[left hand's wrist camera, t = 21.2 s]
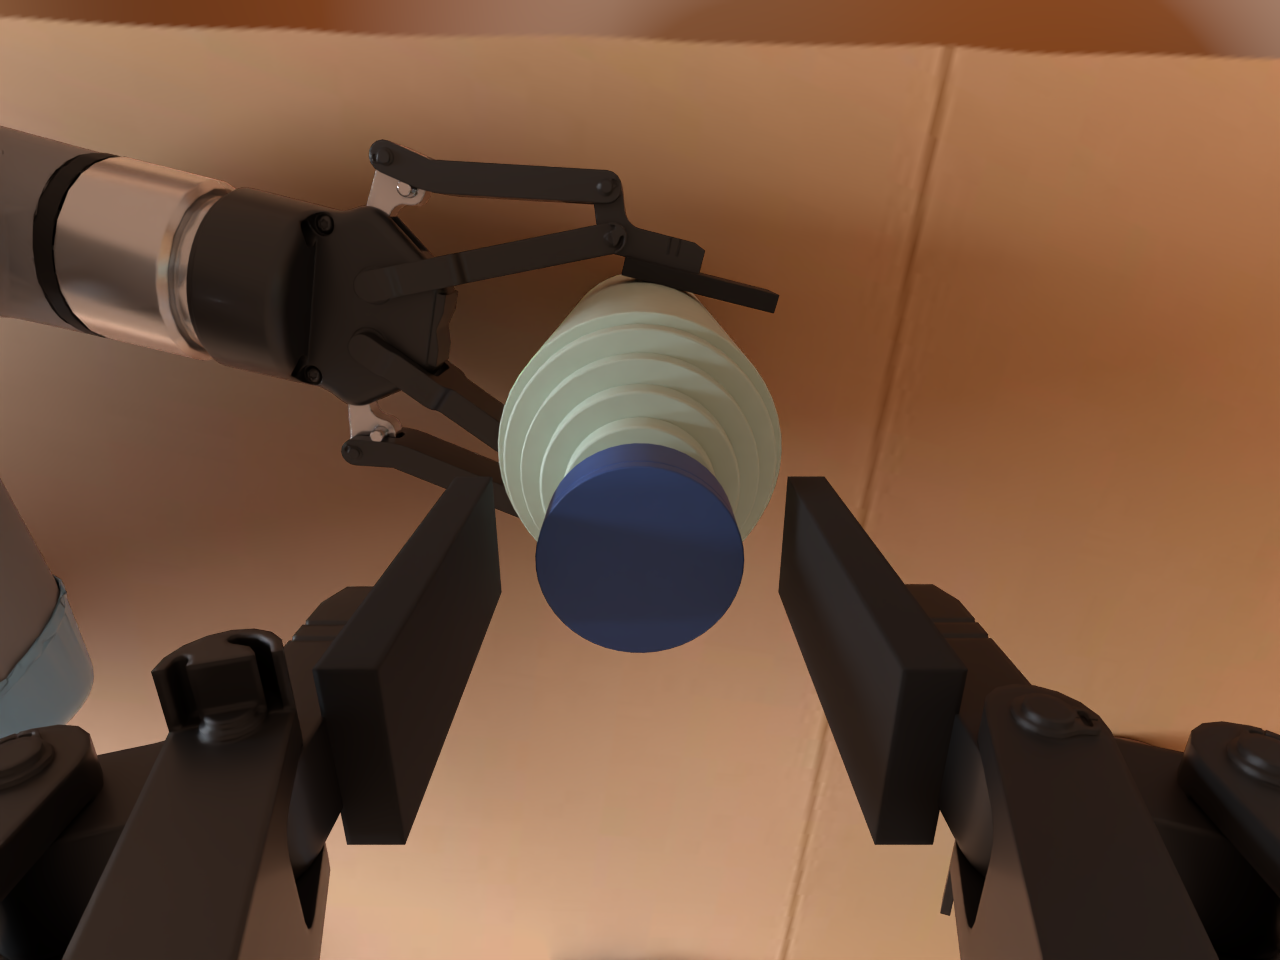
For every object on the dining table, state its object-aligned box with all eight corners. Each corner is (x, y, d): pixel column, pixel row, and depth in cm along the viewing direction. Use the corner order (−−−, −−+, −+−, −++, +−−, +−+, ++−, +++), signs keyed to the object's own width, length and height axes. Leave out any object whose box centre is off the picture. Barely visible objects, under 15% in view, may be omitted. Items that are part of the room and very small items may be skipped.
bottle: (535, 368, 37) (368, 588, 14) (621, 238, 34) (586, 255, 12) (656, 451, 38) (679, 767, 16) (746, 333, 36) (924, 506, 14)
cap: (579, 415, 14) (572, 436, 12) (763, 479, 14) (778, 507, 13) (522, 582, 15) (510, 619, 14) (692, 636, 15) (698, 676, 14)
